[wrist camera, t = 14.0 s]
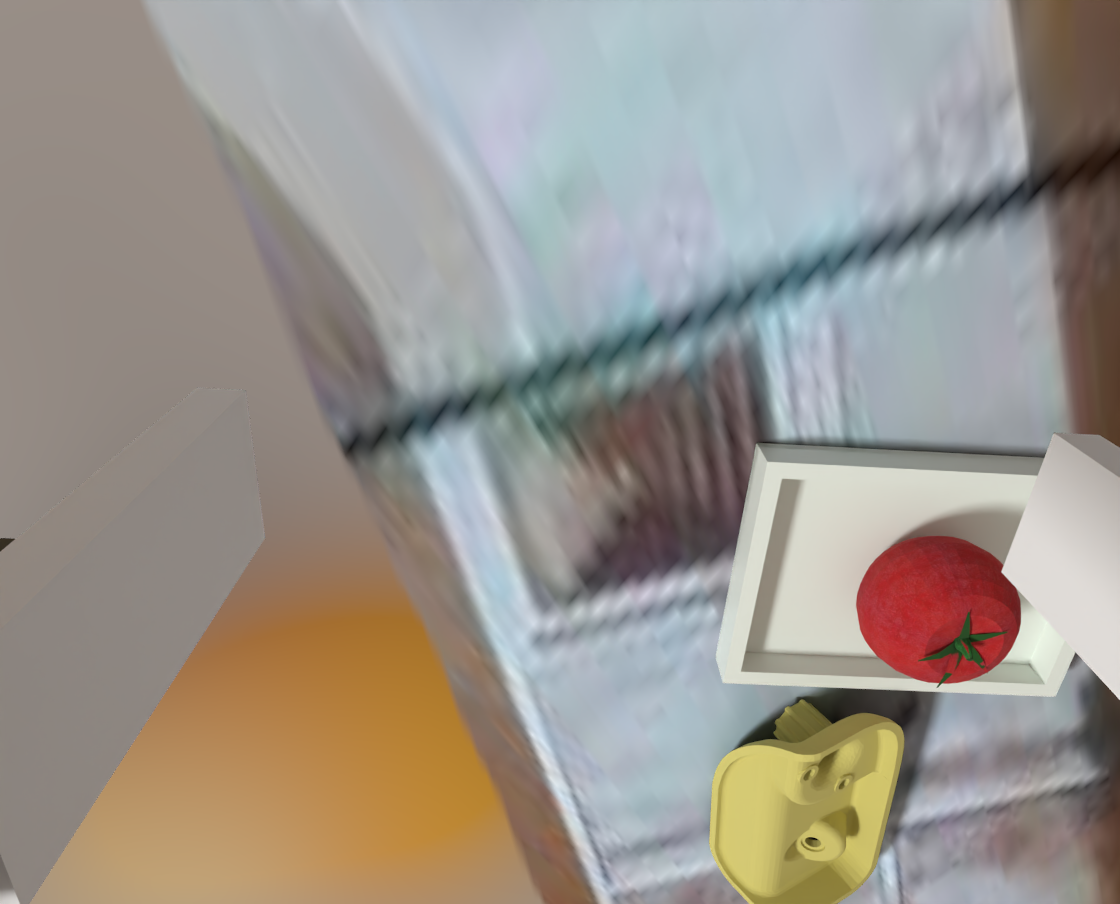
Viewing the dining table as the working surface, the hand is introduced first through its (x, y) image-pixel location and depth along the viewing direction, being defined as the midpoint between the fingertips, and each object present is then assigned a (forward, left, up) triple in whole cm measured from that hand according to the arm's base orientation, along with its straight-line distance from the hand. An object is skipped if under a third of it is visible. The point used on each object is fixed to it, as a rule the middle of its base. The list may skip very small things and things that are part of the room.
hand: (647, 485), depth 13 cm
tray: (+20, +22, -29) cm, 41 cm away
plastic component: (+39, +19, -29) cm, 52 cm away
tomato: (+20, +22, -28) cm, 41 cm away
